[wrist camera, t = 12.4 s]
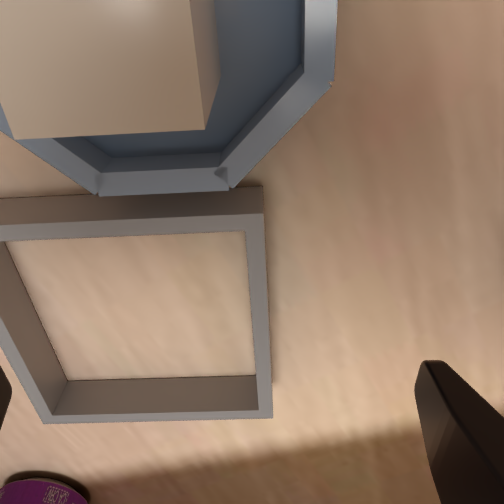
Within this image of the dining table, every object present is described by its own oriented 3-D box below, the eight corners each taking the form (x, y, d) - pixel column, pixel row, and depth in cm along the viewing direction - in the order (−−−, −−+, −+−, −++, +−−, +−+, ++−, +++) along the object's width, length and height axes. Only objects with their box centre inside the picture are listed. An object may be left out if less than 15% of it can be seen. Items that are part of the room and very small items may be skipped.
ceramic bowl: (337, -298, 12) (354, -352, 10) (321, 160, 19) (328, 185, 17) (-131, -255, 12) (-210, -297, 10) (30, 174, 19) (3, 201, 17)
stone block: (205, -98, 13) (173, -129, 8) (221, 75, 16) (204, 129, 11) (44, -86, 13) (-80, -109, 8) (88, 83, 16) (14, 139, 11)
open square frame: (262, 186, 20) (263, 213, 18) (271, 383, 27) (273, 418, 25) (-33, 200, 20) (-66, 228, 18) (59, 389, 28) (43, 423, 26)
